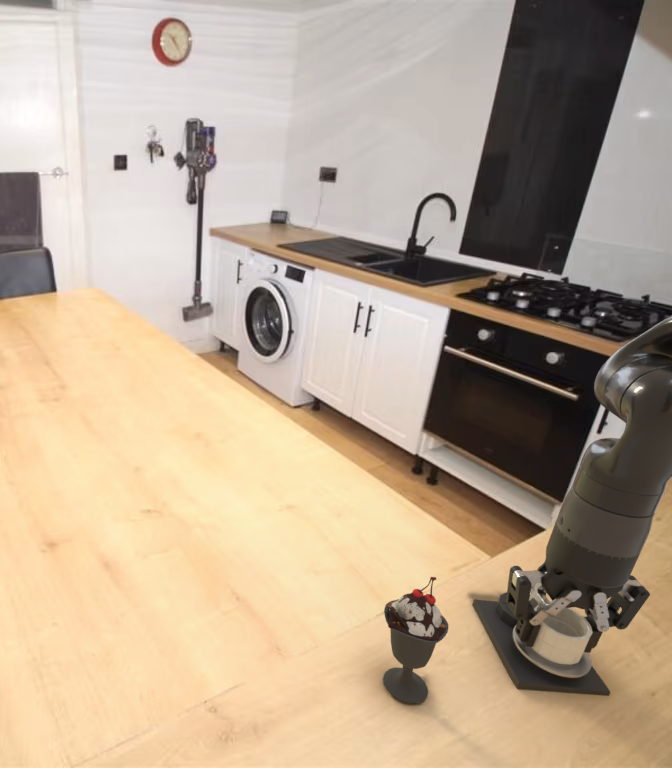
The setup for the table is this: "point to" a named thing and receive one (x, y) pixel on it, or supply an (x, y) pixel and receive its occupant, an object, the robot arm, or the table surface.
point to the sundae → (412, 642)
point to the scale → (518, 667)
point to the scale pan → (554, 668)
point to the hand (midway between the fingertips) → (552, 643)
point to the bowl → (563, 637)
